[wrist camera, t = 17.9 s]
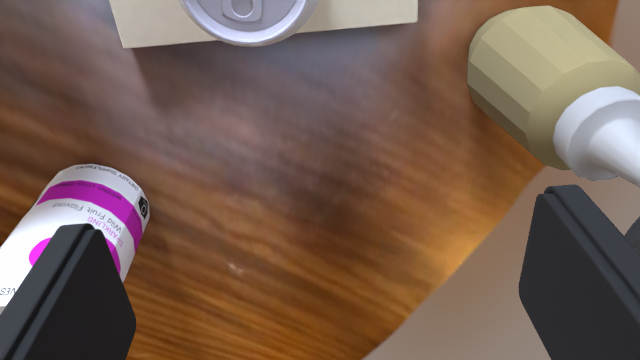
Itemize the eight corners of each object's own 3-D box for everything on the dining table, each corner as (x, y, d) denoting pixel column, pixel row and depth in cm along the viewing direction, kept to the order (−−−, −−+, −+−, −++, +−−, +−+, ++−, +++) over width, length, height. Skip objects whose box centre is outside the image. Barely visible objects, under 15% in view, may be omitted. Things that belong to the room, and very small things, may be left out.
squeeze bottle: (482, 120, 39) (602, 280, 24) (431, 40, 36) (535, 170, 21) (578, 59, 37) (778, 193, 22) (534, -33, 33) (738, 52, 18)
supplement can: (99, 141, 39) (6, 275, 26) (172, 210, 43) (121, 357, 30) (28, 191, 41) (-90, 337, 28) (104, 253, 45) (30, 406, 32)
